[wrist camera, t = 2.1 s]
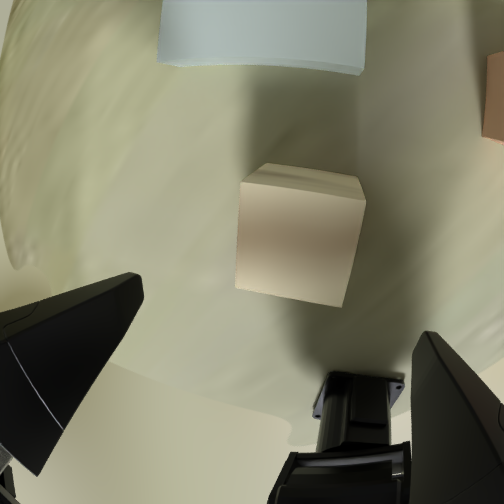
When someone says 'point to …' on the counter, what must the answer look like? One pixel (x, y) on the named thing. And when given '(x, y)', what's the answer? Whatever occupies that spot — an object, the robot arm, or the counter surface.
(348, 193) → the birch cube
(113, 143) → the counter surface
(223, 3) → the blue-grey slab
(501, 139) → the terracotta cube
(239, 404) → the counter surface
